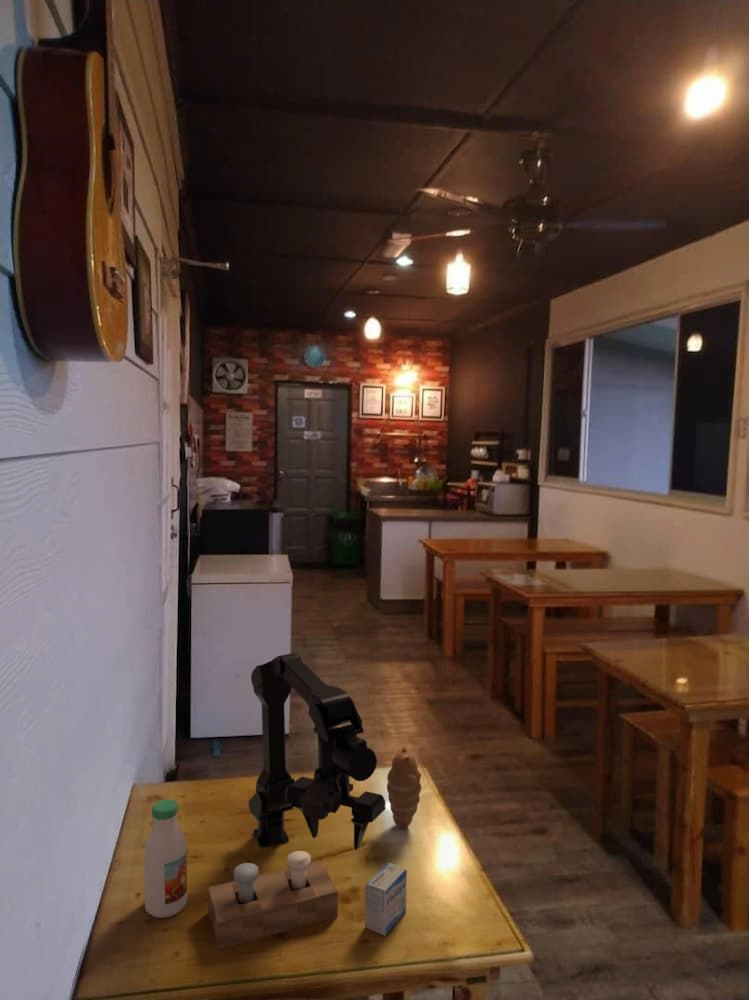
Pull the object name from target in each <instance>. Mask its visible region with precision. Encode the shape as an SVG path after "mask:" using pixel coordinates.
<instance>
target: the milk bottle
mask: <svg viewBox="0 0 749 1000" xmlns="http://www.w3.org/2000/svg"><path fill="white" fill-rule="evenodd" d="M178 810H179V806H178V802H177V801H176V800H173V799H166V798H165V799H161V800H158V801H156V802H155V803H154V804H153V805H152V808H151V815H152V816H151V817H152V820H153V821H152V822H153V824H152V826H151V830H150V832H149V834H148V836H147V839H146V841H145V846H144V850H143V851H144V854H143V855H144V858H143V862H144V863H143V868H144V869H143V871H144V872H143V876H144V877H143V878H144V880H143V882H144V909H145V911H146V913H147V912H148V913H149V914H150V915H149V914H148V913H147V914H148V915H149V916H151V915H152V916H151V917H153V916H154V917H153V918H157V919H159V918H160V919H163V918H164V919H165V918H170V917H172V916H174V915H177V914H178V913H180V912H182V910H184V908H185V906H186V904H187V902H188V859H187V858H188V852H187V851H188V850H187V843H186V842H187V841H186V837H185V834H184V832H183V831H182V828H181V827H180V824H179V822H178V818H177V817H178Z"/></svg>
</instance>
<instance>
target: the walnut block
mask: <svg viewBox="0 0 749 1000" xmlns="http://www.w3.org/2000/svg"><path fill="white" fill-rule="evenodd" d="M207 896H208V898H207V902H208V903H207V906H208V907H207V911H208V912H207V913H208V916H209V919H210V920H209V921H210V924H211V928H212V932H213V935H214V938H215V942H216V946H217V950H219V949H220V950H223V949H225V948H226V949H227V948H231V947H232V946H233V947H234V946H237V945H241V944H244V943H248V942H252V941H255V940H258V939H259V940H260V939H262V938H265V937H270V936H273V935H276V934H280V933H284V932H287V931H291V930H294V929H298V928H301V927H305V926H308V925H309V926H310V925H312V924H316V923H320V922H324V921H327V920H331V919H334V918H338V915H339V914H338V912H339V911H338V909H339V904H338V903H339V902H338V901H339V891H338V890H337V887H336V885H335V884H334V882H333V881H332V878H331V877H330V875H329V873H328V871H327V869H326V867H325V866H324V864H323V863H322V861H321V860H316V861H312V862H311V864H310V866H309V867H308V868H306V887H305V888H303V889H299V890H294V889H293V888H292V887H291V869H290V868H289V867H288V868H284V869H283V868H282V869H280V870H275V871H271V872H267V873H263V874H262V873H261V874H258V878H257V879H256V880H255V881H254V900H253V901H252V902H248V903H244V904H242V903H240V902H239V900H238V882H236V881H235V880H233V881H230V882H225V883H221V884H217V885H212V886H209V887H208V888H207ZM220 950H219V951H220Z"/></svg>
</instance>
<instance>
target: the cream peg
mask: <svg viewBox="0 0 749 1000" xmlns="http://www.w3.org/2000/svg"><path fill="white" fill-rule="evenodd" d="M311 858H312V857H311V854H310V853H308V852H307V851H304V850H295V851H293V852H291V853H289V854H288V855H287V857H286V865H287V867H288V868H290V869H291V887H292V888H293V889H294V890H299V889H303V888H305V887H306V868H308V867H309V866H310V864H311V863H312V862H311V861H312V859H311Z"/></svg>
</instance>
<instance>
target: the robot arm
mask: <svg viewBox="0 0 749 1000" xmlns="http://www.w3.org/2000/svg"><path fill="white" fill-rule="evenodd" d="M250 679H251V680H250V681H251V684H252V686H253V687H252V688H253V692H254V695H255V696H256V697H257V700H259V701H260V703H261V723H262V724H261V727H262V728H261V730H262V731H261V732H262V759H263V760H262V761H263V762H262V763H263V764H262V765H263V766H262V767H263V768H262V770H261V773H260V774H259V776H258V778H257V780H256V782H255V783H256V784H255V793H254V794H253V795H252V796H251V798H250V799H249V800H248V802H247V803H248V809H249V812H250V814H252V816H253V817H254V818H255V819H256V821H257V826H258V827H257V828H256V829H253V835H254V836H255V839H256V842H257V843H258V846H259V847H260V848H266V847H270V846H275V845H279V844H282V843H283V844H284V843H288V842H289V840H290V837H289V836H288V834H287V832H286V830H285V813H286V812H288V811H291V810H294V808H296V809H298V810H299V811H300V812H301V813H302V815H303V818H304V820H305V821H306V825H307V827H308V829H309V831H310V834H311V837H312V838H313V839H316V838H317V837H318V833H319V823H320V821H321V820H324V819H326V818H327V817H328V816H329V814H331V813H332V814H336V813H337V812H338V810H339V808H340V807H341V806H344V807H347V808H351V815H352V818H350V822H351V823H352V824H353V847H354V850H356V851H357V850H359V848H360V847H361V844H362V841H363V838H364V836H365V834H366V830H367V829H368V825H369V823H372V822H374V821H376V819H377V818H378V817H379V816H380V815H381V814H382V813H383V812H385V810H386V799H385V797H384V796H383V795H382V794H379V793H375V792H370V791H366V790H365V791H364V792H363V793H362V794H361V795H360V796H354V795H351V792H352V791H354V783H350V778H351V779H354V780H355V781H356V782H364V781H366V780H368V779H369V778H371V776H372V775H373V774H374V773H375V770H376V768H377V765H378V758H377V756H376V753H375V752H374V750H372V748H370V747H368V745H367V744H368V742H367V740H365V739H364V738H360V737H358V735H359V734H363V733H364V728H363V725H362V723H363V720H362V718H361V716H360V714H359V712H358V710H357V708H356V705H355V702H354V701H353V699H352V697H351V696H350V695H349V693H348V692H347V691H344V690H343V689H342V688H340V687H338V686H333V685H329V684H326V683H325V682H324V681H323V680H322V679H321V678H320V677H319V676H318V675H317V674H316V673H315V672H314V671H313V670H312V669H311V668H310V667H308V666H307V665H306V664H305V663H304V661H302V658H301V656H300V654H299V653H295V652H292V653H288V654H282V655H277V656H276V657H274V658H272V660H270V661H268V662H265V663H262V664H257V665H256V666H255V667H254V669H252V672H251V675H250ZM292 690H294V691H295V692H296V693H297V694H298V696H300V697H301V698H302V699H303V701H305V703H306V705H307V706H308V717H309V718H310V719H311V721H312V723H313V725H314V727H313V728H312V731H313V732H314V733H315V734H316V735H317V751H318V753H317V755H318V756H317V759H318V763H317V765H318V767H316V769H314V773H313V778H310V777H306V776H300V777H299V778H298V779H296V780H295V779H294V778H293V777H292V775H291V774H290V773H289V772H288V770H287V760H286V759H287V757H286V756H287V755H286V753H287V752H286V721H285V720H286V719H285V718H286V717H285V713H286V712H285V703H286V701H287V700H288V698H289V696H290V694H291V692H292ZM348 723H350V724H348ZM343 724H344V726H342V725H343ZM345 724H347V725H345ZM338 726H340V727H338Z"/></svg>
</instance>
